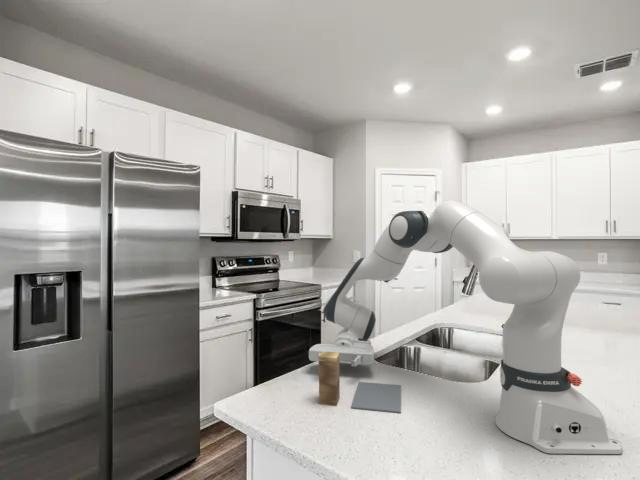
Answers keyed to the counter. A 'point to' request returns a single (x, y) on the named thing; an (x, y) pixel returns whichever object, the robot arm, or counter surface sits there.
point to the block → (329, 378)
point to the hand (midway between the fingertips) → (337, 362)
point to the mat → (377, 397)
